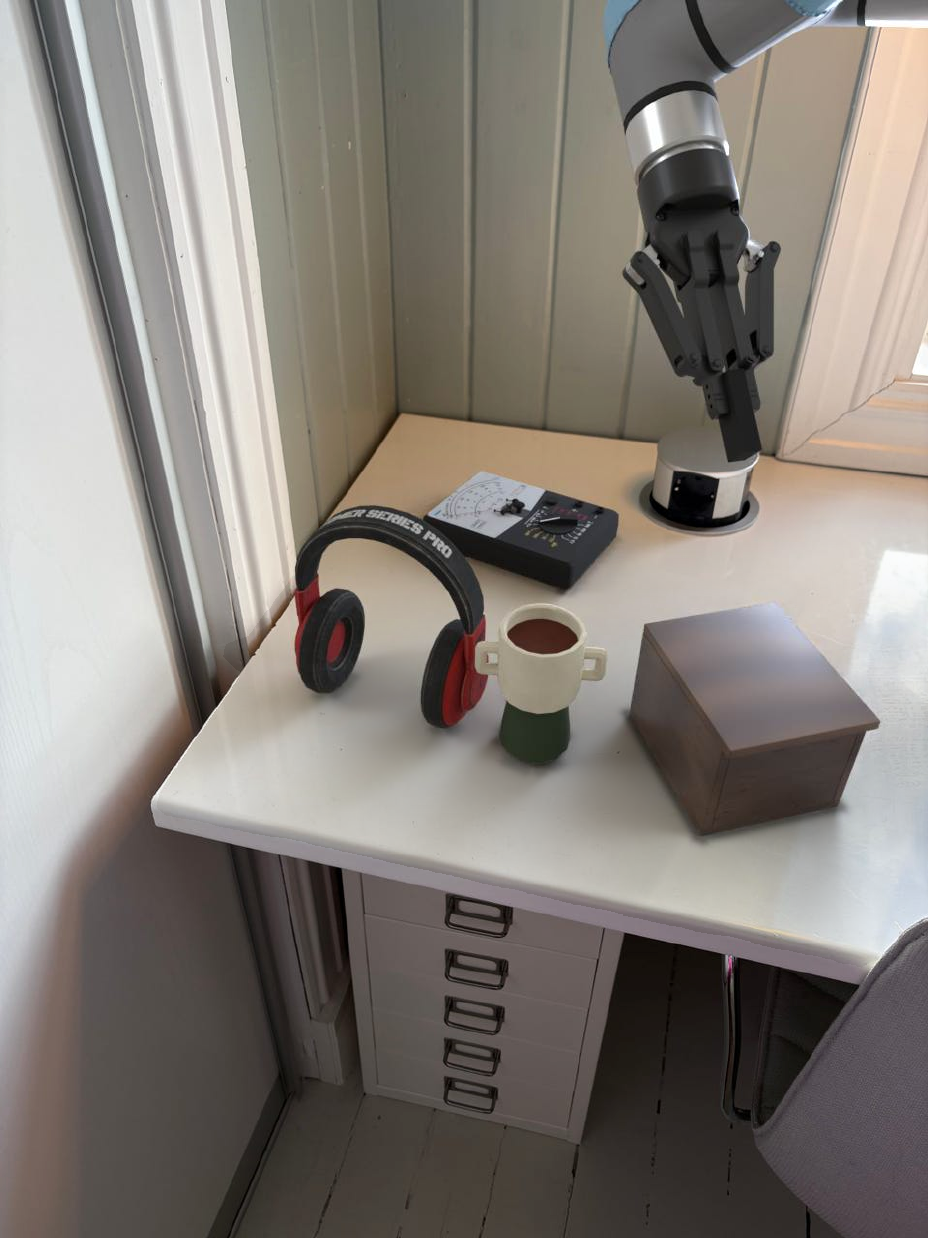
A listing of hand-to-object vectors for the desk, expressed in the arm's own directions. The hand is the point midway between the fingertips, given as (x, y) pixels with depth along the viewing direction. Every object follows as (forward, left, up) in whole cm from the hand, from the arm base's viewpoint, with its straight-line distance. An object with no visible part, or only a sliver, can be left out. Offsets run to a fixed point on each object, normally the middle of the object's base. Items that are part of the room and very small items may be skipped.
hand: (744, 455), depth 72 cm
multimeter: (+7, -30, -26) cm, 41 cm away
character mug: (+16, +2, -26) cm, 31 cm away
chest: (0, +8, -26) cm, 27 cm away
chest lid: (0, +8, -16) cm, 18 cm away
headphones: (+27, -7, -26) cm, 38 cm away
